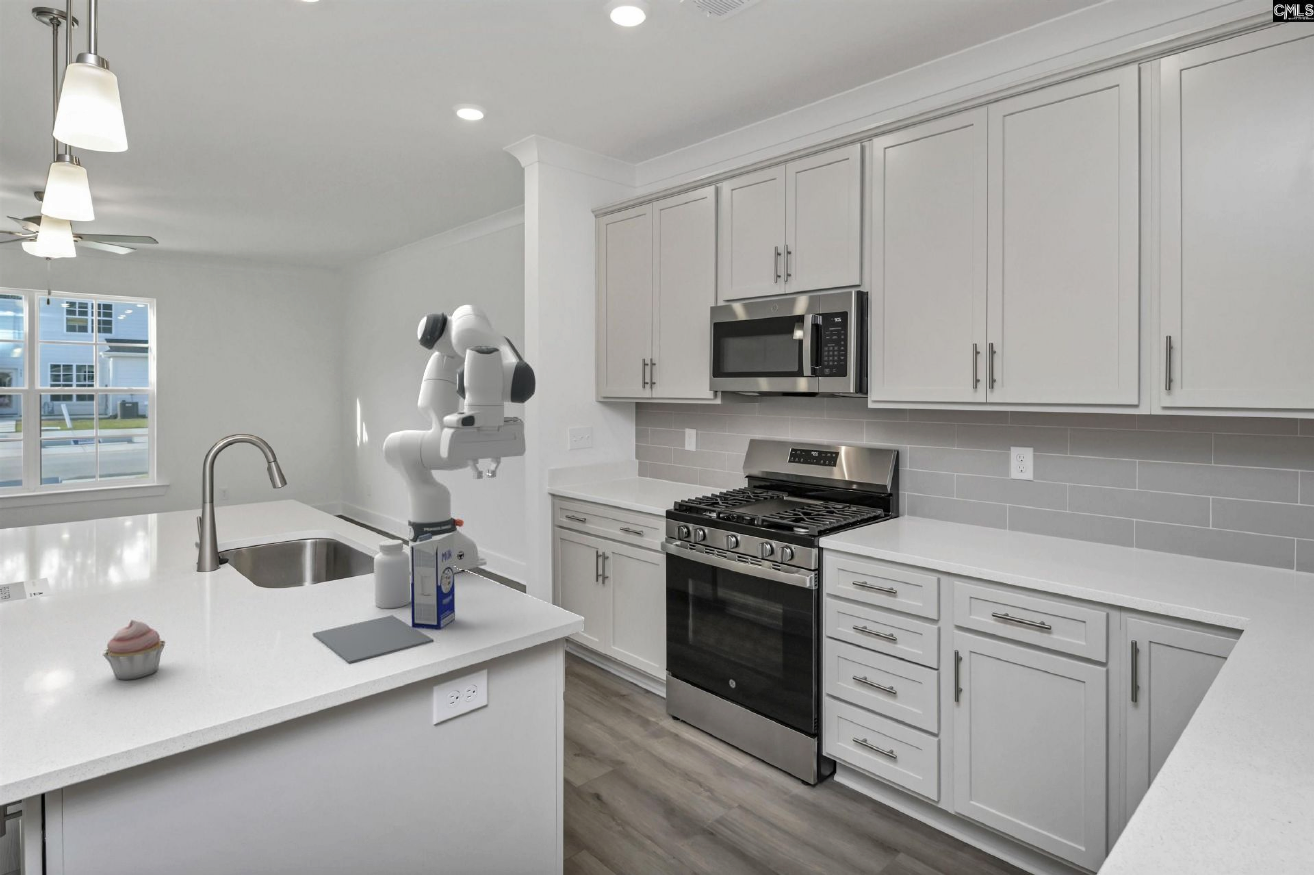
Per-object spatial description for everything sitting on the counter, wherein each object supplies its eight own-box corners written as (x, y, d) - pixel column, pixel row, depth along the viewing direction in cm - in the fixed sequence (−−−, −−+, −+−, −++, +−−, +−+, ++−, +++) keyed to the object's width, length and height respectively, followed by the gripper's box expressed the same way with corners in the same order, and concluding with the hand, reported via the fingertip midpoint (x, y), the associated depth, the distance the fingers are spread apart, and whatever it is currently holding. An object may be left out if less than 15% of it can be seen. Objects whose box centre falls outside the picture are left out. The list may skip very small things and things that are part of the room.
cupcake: (100, 672, 130) (97, 619, 129) (161, 659, 136) (159, 607, 135) (107, 689, 123) (104, 632, 122) (172, 674, 129) (169, 620, 129)
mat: (392, 616, 161) (392, 615, 161) (433, 641, 147) (433, 639, 147) (312, 635, 149) (312, 633, 149) (348, 663, 135) (348, 661, 135)
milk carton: (439, 630, 153) (438, 538, 152) (411, 627, 155) (409, 536, 153) (455, 619, 160) (454, 531, 158) (427, 616, 161) (426, 529, 160)
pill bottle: (367, 607, 167) (366, 544, 166) (388, 597, 175) (387, 537, 174) (397, 610, 166) (396, 547, 164) (417, 600, 173) (416, 539, 172)
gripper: (516, 415, 172) (516, 472, 173) (436, 418, 158) (437, 480, 159) (530, 417, 167) (530, 475, 169) (450, 419, 153) (450, 483, 154)
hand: (484, 478), depth 164 cm, fingers open, 2 cm apart
